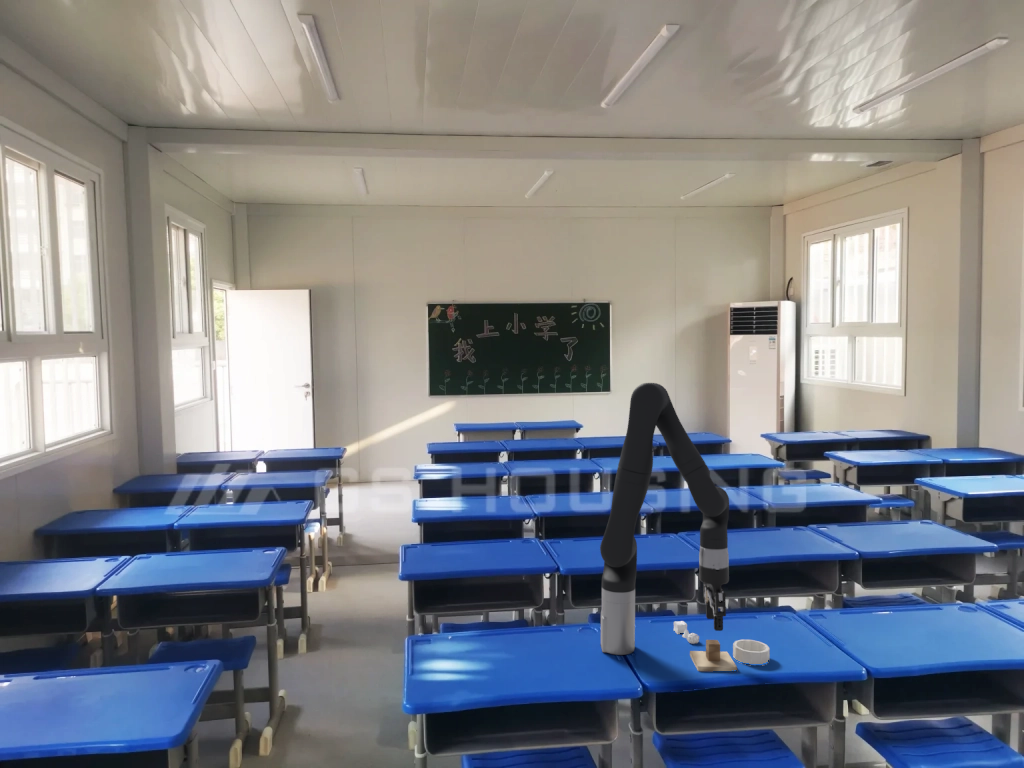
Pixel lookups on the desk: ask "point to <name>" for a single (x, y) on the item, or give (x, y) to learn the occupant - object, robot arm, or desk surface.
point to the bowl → (751, 651)
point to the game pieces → (685, 632)
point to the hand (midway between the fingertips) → (714, 624)
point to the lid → (712, 658)
